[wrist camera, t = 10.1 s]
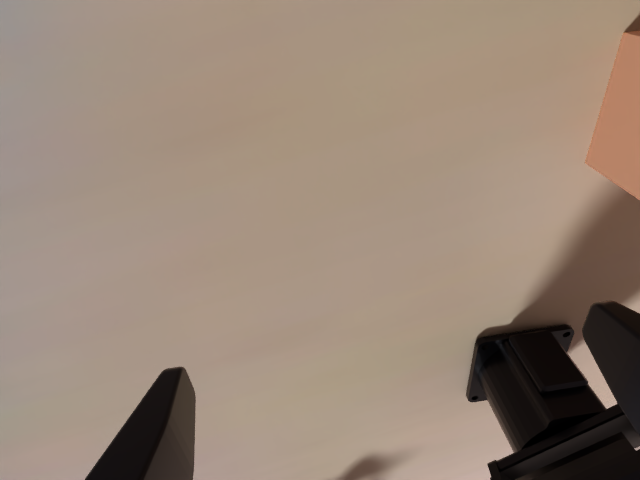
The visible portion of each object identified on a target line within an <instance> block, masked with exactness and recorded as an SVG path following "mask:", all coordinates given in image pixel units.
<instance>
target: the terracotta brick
mask: <svg viewBox="0 0 640 480" xmlns="http://www.w3.org/2000/svg"><path fill="white" fill-rule="evenodd" d="M585 163H586V164H587V165H589V166H590V167H592V168H593V169H594V170H596V171H597V172H599V173H600V174H602V175H603V176H605V177H606V178H608V179H609V180H611V181H612V182H614V183H615V184H616V185H618V186H619V187H621V188H622V189H624V190H625V191H627V192H628V193H630V194H631V195H633V196H634V197H636V198H637V199H638V200H640V30H639V31H631V32H623V35H622V39H621V42H620V45H619V49H618V52H617V56H616V59H615V62H614V66H613V69H612V72H611V76H610V79H609V83H608V86H607V89H606V93H605V96H604V100H603V103H602V106H601V110H600V113H599V116H598V120H597V123H596V127H595V130H594V133H593V137H592V140H591V143H590V147H589V150H588V154H587V157H586V160H585Z"/></svg>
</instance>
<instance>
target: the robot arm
mask: <svg viewBox="0 0 640 480" xmlns="http://www.w3.org/2000/svg"><path fill="white" fill-rule="evenodd" d="M582 333H583V337H584V340H585V342H586V344H587V346H588V348H589V350H590V351H591V353H592V355H593V357H594V359H595V361H596V363H597V365H598V367H599V369H600V371H601V373H602V374H603V376H604V378H605V380H606V382H607V384H608V386H609V388H610V390H611V392H612V393H613V395H614V397H615V399H616V401H617V405H614V406H612V407H610V408H608V409H606V408H605V406H604V405H603V403H602V402H601V401H600V399H599V398H598V397H597V395H596V394H595V393H594V391H593V390H592V389H591V387H590V386H589V385H588V381H587V379H586V378H585V376H584V375H583V374H582V372H581V371H580V370H579V368H578V367H577V366H576V364H575V363H574V362H573V360H572V359H571V358H570V356H569V355H568V354H567V351H568V348H569V345H570V343H571V340H572V337H573V335H574V331H573V329H572V328H571V327H570V326H569V325H560V326H554V327H547V328H541V329H535V330H528V331H522V332H515V333H509V334H502V335H496V336H489V337H483V338H480V339H478V340H477V341H476V343H475V347H474V353H473V358H472V364H471V369H470V375H469V380H468V386H467V392H466V396H467V399H468V401H469V402H478V401H484V400H488V402H489V404H490V406H491V408H492V410H493V412H494V414H495V416H496V418H497V420H498V422H499V424H500V426H501V428H502V430H503V432H504V434H505V436H506V438H507V440H508V442H509V444H510V446H511V448H512V450H513V452H514V453H513V454H511V455H509V456H507V457H504V458H502V459H500V460H498V461H496V460H494V461H492V462H490V463H488V467H489V470H490V474H491V478H490V479H491V480H640V449H639V450H637V451H636V450H635V449H634V448H636V447H639V446H640V314H639V313H637V312H635V311H633V310H631V309H629V308H627V307H625V306H623V305H621V304H619V303H617V302H614V301H605V302H598V303H594V304H593V305H592V306H591V307H590V310H589V312H588V315H587V317H586V320H585V323H584V325H583V329H582ZM195 402H196V400H195V391H194V388H193V386H192V383H191V381H190V379H189V376H188V374H187V372H186V370H185V368H184V367H175V368H168V369H165V370H164V371H162V372H161V374H160V375H159V376H158V378H157V379H156V381H155V382H154V383H153V385H152V386H151V388H150V389H149V390H148V392H147V393H146V395H145V396H144V397H143V399H142V400H141V402H140V403H139V404H138V406H137V407H136V409H135V410H134V411H133V413H132V414H131V416H130V417H129V418H128V420H127V421H126V423H125V424H124V425H123V427H122V428H121V430H120V431H119V432H118V434H117V435H116V437H115V438H114V439H113V441H112V442H111V444H110V445H109V446H108V448H107V449H106V451H105V452H104V453H103V455H102V456H101V458H100V459H99V460H98V462H97V463H96V464H95V466H94V467H93V469H92V470H91V471H90V473H89V474H88V476H87V477H86V478H85V480H193V472H194V444H195Z"/></svg>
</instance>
